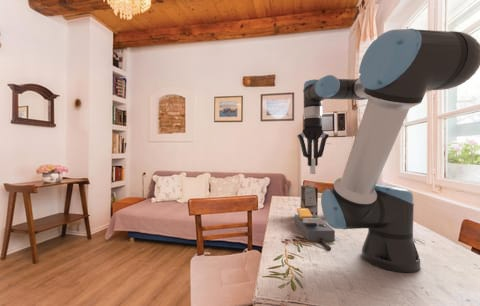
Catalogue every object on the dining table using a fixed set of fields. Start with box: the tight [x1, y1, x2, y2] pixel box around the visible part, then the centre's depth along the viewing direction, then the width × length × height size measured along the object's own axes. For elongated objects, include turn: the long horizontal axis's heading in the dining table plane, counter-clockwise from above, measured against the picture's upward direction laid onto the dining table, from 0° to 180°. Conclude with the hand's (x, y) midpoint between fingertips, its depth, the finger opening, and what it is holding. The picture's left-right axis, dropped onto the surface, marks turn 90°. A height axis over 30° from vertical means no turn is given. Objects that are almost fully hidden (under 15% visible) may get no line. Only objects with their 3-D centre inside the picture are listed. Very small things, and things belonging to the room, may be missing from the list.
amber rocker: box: [296, 207, 313, 220], centre depth 103 cm, size 7×5×2 cm
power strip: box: [294, 214, 336, 251], centre depth 94 cm, size 30×10×5 cm, turn 0°
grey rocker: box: [303, 218, 321, 223], centre depth 93 cm, size 7×5×2 cm
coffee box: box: [300, 185, 319, 217], centre depth 117 cm, size 9×6×16 cm
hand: (312, 173), depth 98 cm, fingers closed
